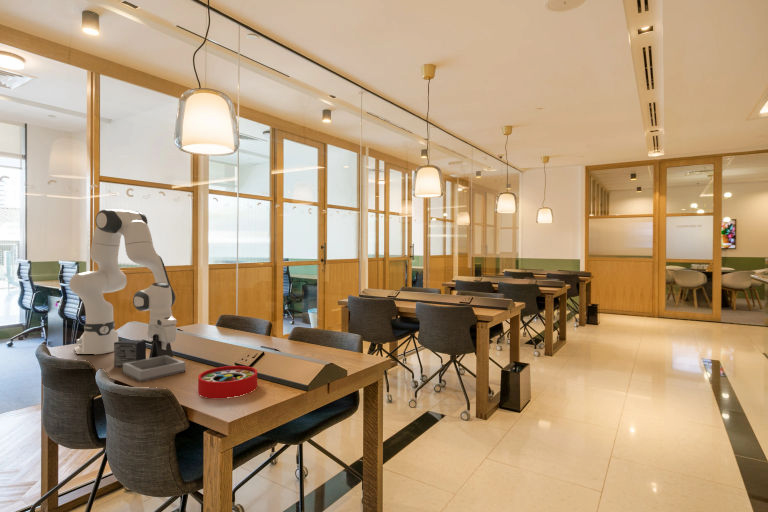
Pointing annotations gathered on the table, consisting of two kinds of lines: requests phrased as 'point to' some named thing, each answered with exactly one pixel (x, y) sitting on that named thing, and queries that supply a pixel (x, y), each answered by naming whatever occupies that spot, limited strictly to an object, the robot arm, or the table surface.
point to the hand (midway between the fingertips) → (161, 349)
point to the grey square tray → (153, 368)
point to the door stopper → (159, 348)
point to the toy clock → (227, 381)
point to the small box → (129, 351)
